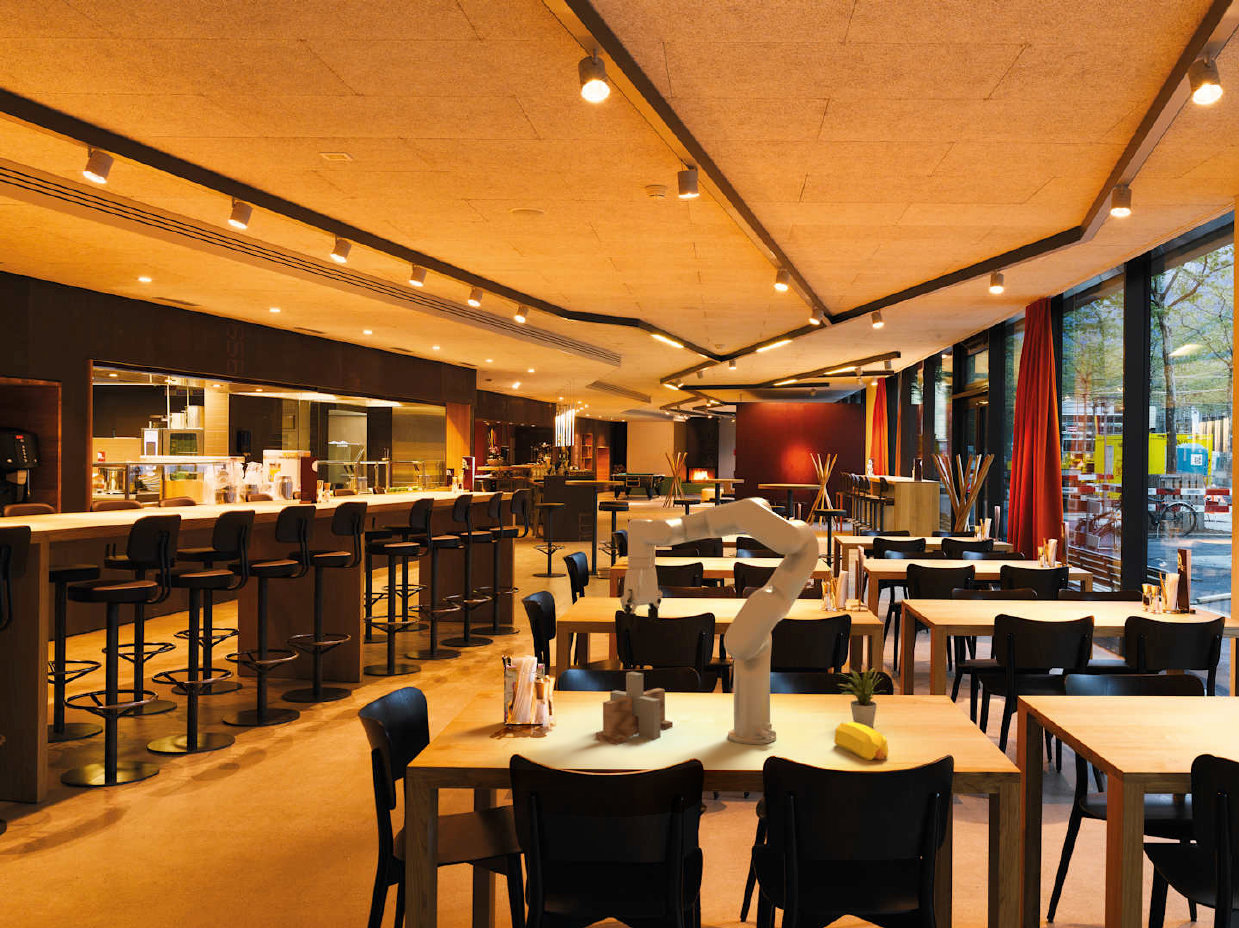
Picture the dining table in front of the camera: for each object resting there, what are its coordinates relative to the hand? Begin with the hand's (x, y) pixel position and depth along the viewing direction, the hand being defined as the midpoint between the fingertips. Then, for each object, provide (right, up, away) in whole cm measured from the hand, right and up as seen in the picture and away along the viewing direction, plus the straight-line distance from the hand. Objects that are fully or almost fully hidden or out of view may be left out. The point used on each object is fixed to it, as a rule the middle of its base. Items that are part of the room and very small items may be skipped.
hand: (642, 625), depth 264 cm
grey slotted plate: (-2, -28, -7) cm, 29 cm away
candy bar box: (-33, -28, +3) cm, 44 cm away
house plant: (+61, -28, 0) cm, 67 cm away
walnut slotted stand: (-2, -28, -7) cm, 29 cm away
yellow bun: (+54, -28, -26) cm, 66 cm away
